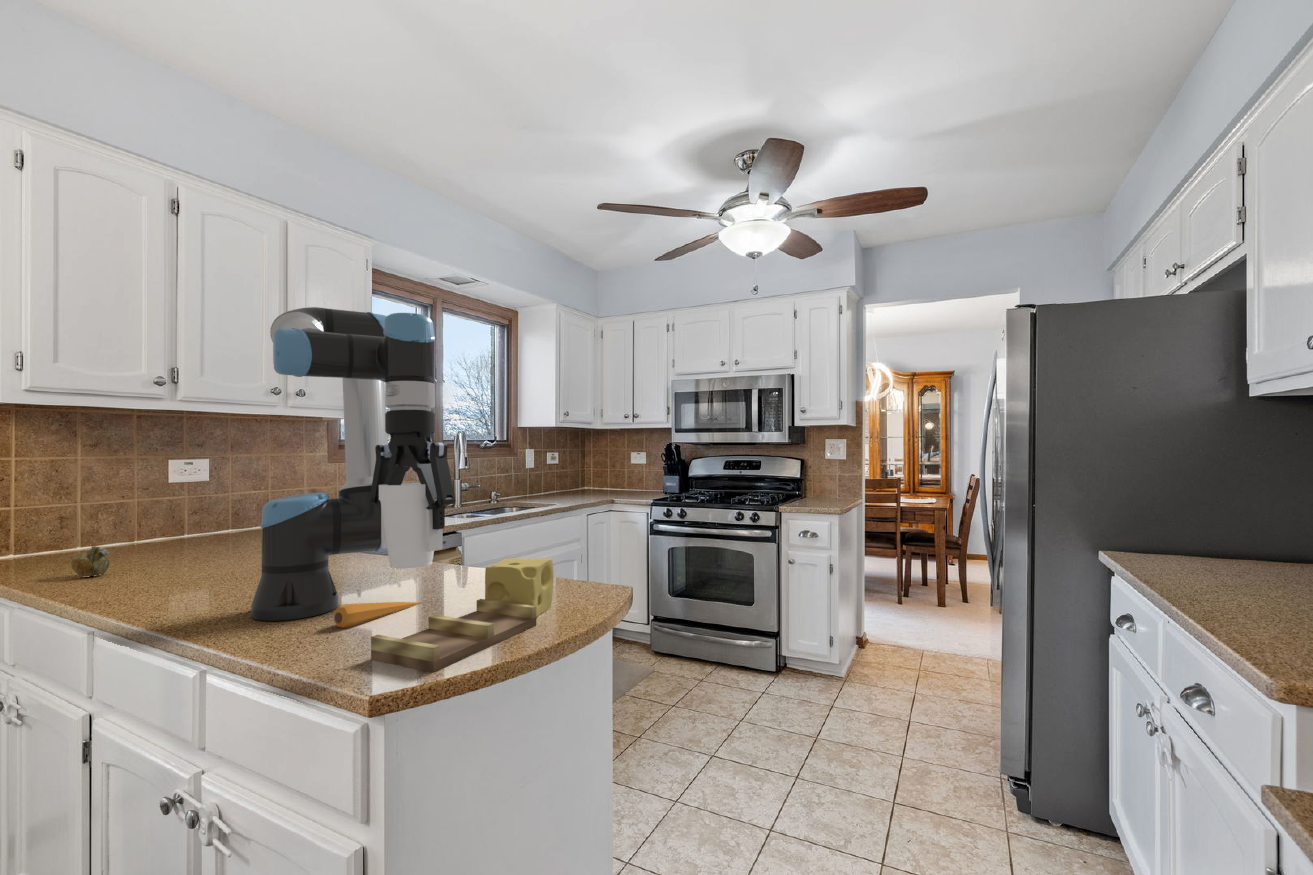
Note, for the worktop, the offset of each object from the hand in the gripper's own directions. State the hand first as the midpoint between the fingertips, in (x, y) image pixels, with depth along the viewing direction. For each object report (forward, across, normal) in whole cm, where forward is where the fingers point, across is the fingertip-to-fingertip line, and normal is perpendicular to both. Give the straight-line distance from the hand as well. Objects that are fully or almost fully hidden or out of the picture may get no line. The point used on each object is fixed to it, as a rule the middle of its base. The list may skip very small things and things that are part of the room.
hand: (411, 548), depth 98 cm
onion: (+14, -121, +5) cm, 122 cm away
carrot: (+16, -22, +13) cm, 31 cm away
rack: (+17, +3, +8) cm, 18 cm away
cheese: (+17, 0, +26) cm, 31 cm away
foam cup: (+3, 0, 0) cm, 3 cm away
